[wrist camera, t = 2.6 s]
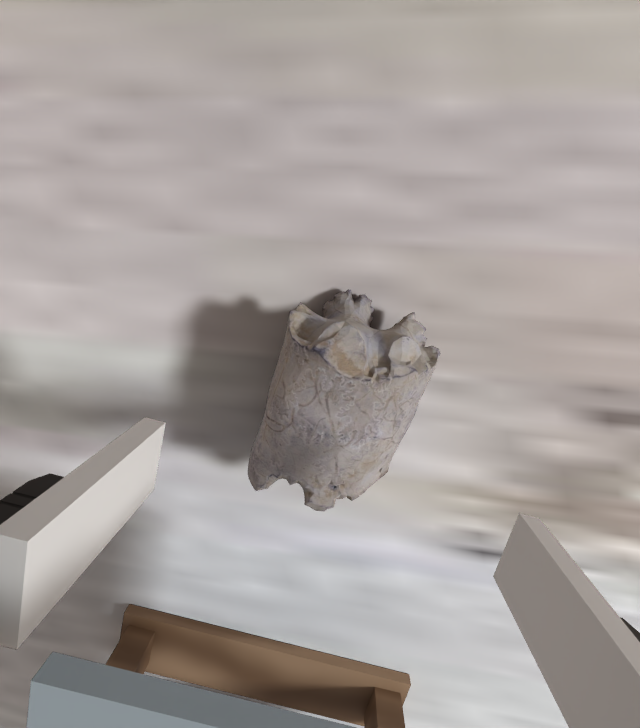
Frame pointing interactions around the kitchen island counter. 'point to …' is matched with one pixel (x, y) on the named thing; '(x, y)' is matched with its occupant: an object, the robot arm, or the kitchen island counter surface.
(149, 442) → the robot arm
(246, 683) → the frame
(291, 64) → the kitchen island counter surface
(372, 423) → the stone
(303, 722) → the trapdoor
